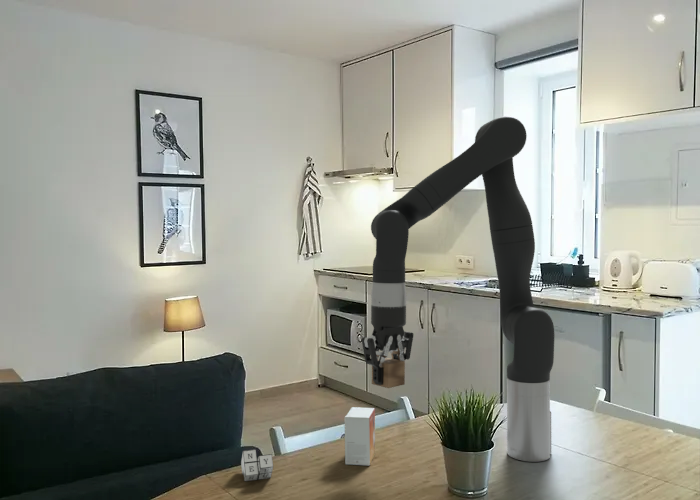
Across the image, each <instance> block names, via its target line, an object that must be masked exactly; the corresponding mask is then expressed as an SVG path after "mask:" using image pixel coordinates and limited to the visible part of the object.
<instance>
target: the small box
mask: <svg viewBox="0 0 700 500" xmlns="http://www.w3.org/2000/svg"><path fill="white" fill-rule="evenodd" d="M343 419H344V460H345V463H344V464H345V465H347V466H348V465H351V466H353V465H354V466H370V465H371V464H372V461H373V459H374V457H375V454H376V423H375V422H376V408H374V407H359V406H357V407H356V406H355V407H354V406H352V407H350V409H349V411H348V412H347V414H346V415H345V416H344V418H343Z"/></svg>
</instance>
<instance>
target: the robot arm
mask: <svg viewBox="0 0 700 500" xmlns="http://www.w3.org/2000/svg"><path fill="white" fill-rule="evenodd" d="M527 137H528V135H527V130H526V127H525V126H524V124H523V123H522V122H521V121H520V120H519V119H518V118H516V117H512V116H507V115H506V116H499V117H496V118H494V119H492V120H489V121H488V122H486V123H485V124H482V125H481V126H480V127H479V129H478V130H477V132H476V134H475V137H474V142H473V144H471V145H470V146H469V147H468V148H467V149H466V150H464V151H463V152H461V153H460V154H459V155H458V156H457V157H455V158H452V160H450V161H449V162H448V163H445V164H444V165H443V166H441V167H439V168H437V169H436V170H434V171H433V172H432V173H430V174H429V175H427V176H426V177H425V178H424V179H422V180H421V181H419V183H417V184H416V185H414V187H412V188H411V189H409V190H408V192H406V194H404V195H403V196H402V197H401V198H399V199H397V200H396V201H394V202H392V203H391V204H389V205H388V206H387V207H385V208H384V209H383V210H381V211H379V212H378V214H376V215H375V216H374V218H373V219H372V221H371V224H370V231H371V234H372V236H373V238H374V239H375V242H376V243H375V245H376V246H375V257H374V258H373V261H372V283H371V284H372V285H371V294H370V298H371V299H370V300H371V301H370V302H371V303H370V304H371V305H370V311H371V312H370V324H371V325H372V327H373V331H372V333H371V335H369V336H367V337H366V336H363V337H362V338H361V344H362V350H363V355H364V362H365V364H367V365H370V366H371V367H372V366H373V381H374V383H375V384H378V385H382V384H383V378H384V367H383V365H384V361H385V358H388V356H389V353H390V355H391V359H396V360H401V361H405V362H406V360H410V359H411V353H412V346H413V340H414V333H413V332H411V331H405V330H404V327H405V325H407V288H406V256H407V250H408V243H409V234H410V233H409V232H410V231H409V229H411V228H412V227H413V226H415V225H416V224H417V223H419V222H420V221H422V220H424V219H425V220H426V219H427V218H428V217H430V216H432V215H433V214H435V212H436V211H438V210H439V209H440V208H442V207H443V206H444V205H445V204H446V203H448V202H449V201H450V200H452V199H453V198H454V197H455V196H456V195H457V194H459V193H460V192H461V191H462V190H464V189H465V188H466V187H467V186H468V185H470V184H471V183H472V182H474V181H475V180H477V178H479V177H480V176H482V180H483V187H484V191H485V201H486V210H487V216H488V225H489V231H490V232H489V233H490V240H491V246H492V251H493V256H494V262H495V269H496V276H497V280H498V289H499V304H500V305H499V307H500V309H499V310H500V324H501V330H502V333H503V335H504V337H505V338H506V340H508V342H510V343H512V344H513V360H512V361H511V362H510V363H508V365H507V366H506V435H507V436H506V439H507V441H506V443H507V444H506V447H507V448H506V449H507V450H506V453H507V455H508V456H509V457H511V458H513V459H515V460H519V461H522V462H530V463H532V462H533V463H535V462H544V461H547V460H548V459H550V458H551V454H552V412H551V395H550V394H551V393H550V391H551V388H550V387H551V386H550V385H551V384H550V383H551V382H550V381H551V372H552V369H553V367H554V359H555V358H554V357H555V326H554V322H553V319H552V318H551V316H550V314H549V313H547V312H546V311H545V310H543V309H540V308H537V307H535V305H534V301H533V296H532V290H531V278H530V277H531V272H532V267H533V262H534V258H535V253H536V242H535V241H536V240H535V234H534V227H533V226H534V225H533V221H532V217H531V213H530V211H529V208H528V206H527V204H526V201H525V200H524V198H523V196H522V194H521V191H520V189H519V187H518V184H517V181H516V178H515V170H514V161H513V160H514V158H515V157H516V156H517V155H518V154H520V152H521V151H522V150H523V149H524V147H525V145H526V142H527ZM378 360H379V361H378ZM378 385H377V386H378Z"/></svg>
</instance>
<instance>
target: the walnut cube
mask: <svg viewBox="0 0 700 500" xmlns="http://www.w3.org/2000/svg"><path fill="white" fill-rule="evenodd" d="M378 361H379V359H378ZM405 363H406V360H405V361H401V360H396V359H392V357H386V358H385V361H384V365H383V367H384V378H383V384H382V385H378V384H375V383H374V381H373V366H372V365H371V384H372V385H374V386H378V387H382V388H386V389H391V388H392V389H393V388H395V387H396V388H397V387H400V386H404V385H405V374H406V373H405V369H406V367H405V366H406V364H405Z"/></svg>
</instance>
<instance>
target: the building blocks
mask: <svg viewBox="0 0 700 500" xmlns="http://www.w3.org/2000/svg"><path fill="white" fill-rule="evenodd" d="M240 460H241V461H240V465H241V474H242V475H243V481H244V482H249V481H250V482H252V481H258V480H266V479H267V480H268V479H271V478H272V473H273V469H274V462H273V454H272V453H271V454H261V455H258V456H257V449H254V448H253V449H247V450H242V455H241V459H240Z"/></svg>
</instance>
